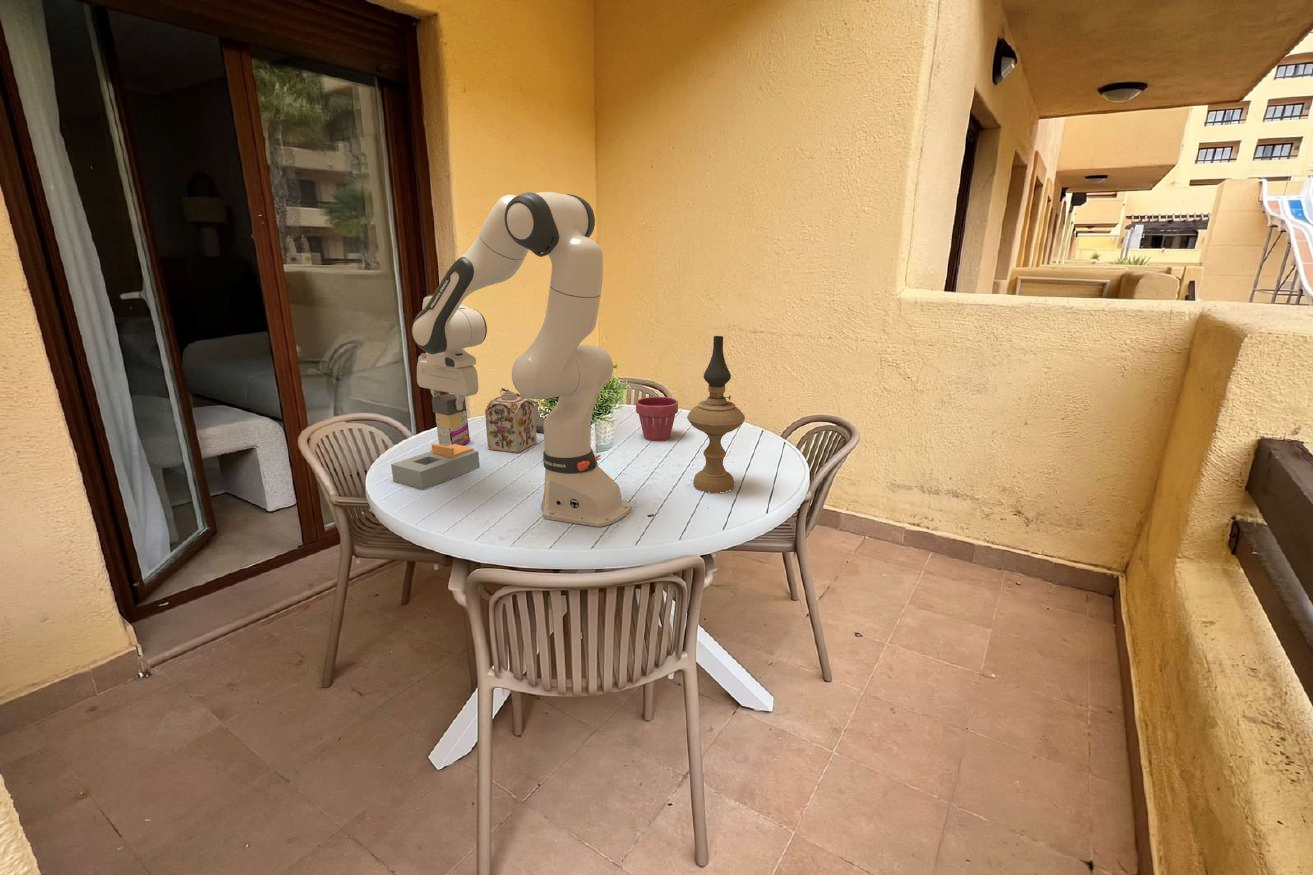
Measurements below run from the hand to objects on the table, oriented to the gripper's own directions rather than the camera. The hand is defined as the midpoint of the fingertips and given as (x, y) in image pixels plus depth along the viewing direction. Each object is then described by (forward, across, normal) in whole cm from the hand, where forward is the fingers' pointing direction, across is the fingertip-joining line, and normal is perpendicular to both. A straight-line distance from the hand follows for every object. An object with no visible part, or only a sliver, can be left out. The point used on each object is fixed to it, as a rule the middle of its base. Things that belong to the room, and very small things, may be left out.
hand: (449, 407), depth 157 cm
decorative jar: (+21, -6, +29) cm, 36 cm away
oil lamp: (+19, +65, +31) cm, 74 cm away
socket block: (+20, -6, -1) cm, 21 cm away
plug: (+5, 0, 0) cm, 5 cm away
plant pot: (+20, +29, +62) cm, 71 cm away
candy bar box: (+21, -22, +19) cm, 36 cm away
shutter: (+15, -6, +5) cm, 17 cm away
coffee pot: (+21, -15, +47) cm, 54 cm away
